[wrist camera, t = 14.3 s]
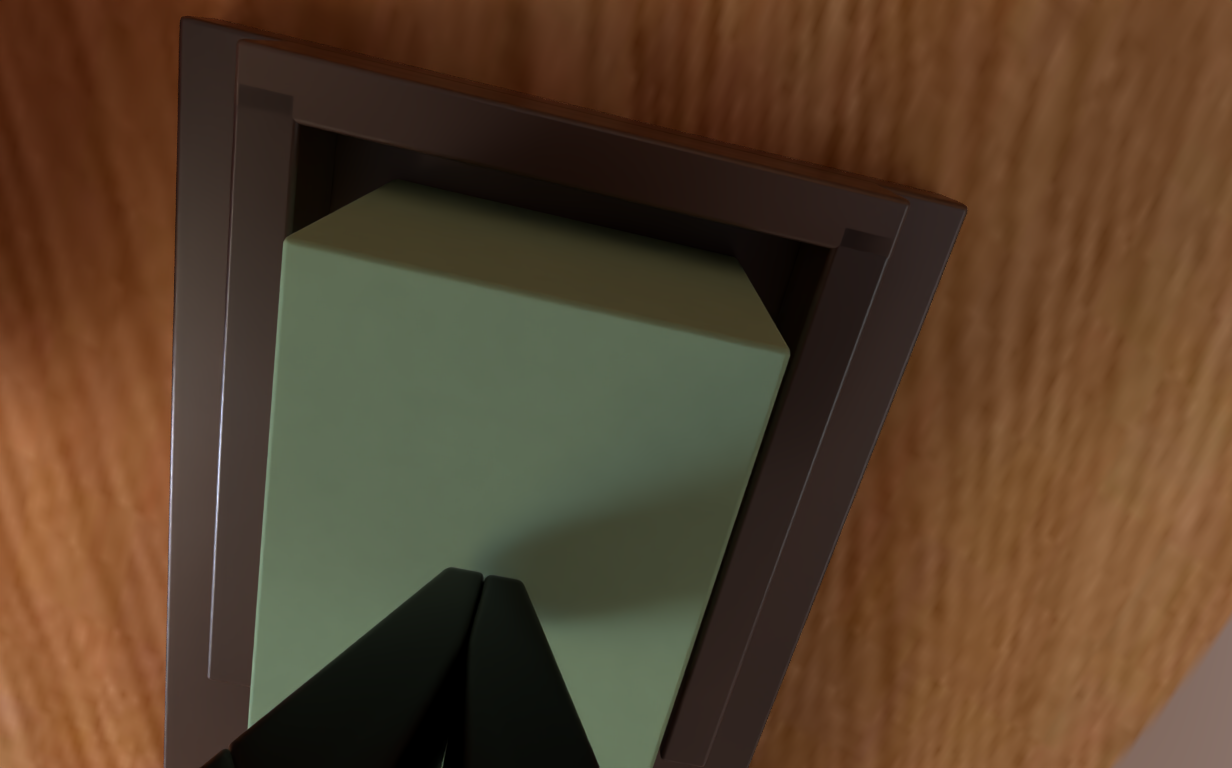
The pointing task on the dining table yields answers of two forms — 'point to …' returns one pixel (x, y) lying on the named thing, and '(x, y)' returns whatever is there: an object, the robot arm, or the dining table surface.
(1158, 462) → the dining table surface
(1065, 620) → the dining table surface
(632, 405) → the pad
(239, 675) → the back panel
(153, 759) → the dining table surface
